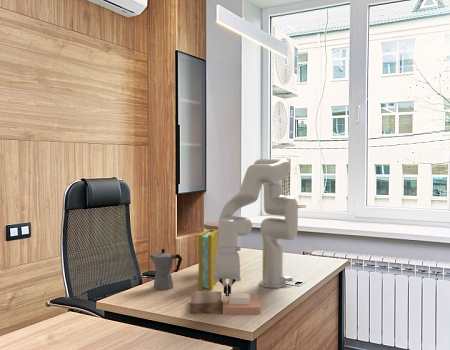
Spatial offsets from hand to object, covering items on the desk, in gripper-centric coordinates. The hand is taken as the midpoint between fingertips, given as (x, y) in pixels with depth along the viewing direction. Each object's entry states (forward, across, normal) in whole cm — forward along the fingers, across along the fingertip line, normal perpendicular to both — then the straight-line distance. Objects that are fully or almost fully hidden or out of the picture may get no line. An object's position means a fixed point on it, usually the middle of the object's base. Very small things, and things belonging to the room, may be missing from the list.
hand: (227, 295), depth 187 cm
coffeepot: (+5, +28, -28) cm, 40 cm away
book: (+5, +8, -33) cm, 35 cm away
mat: (+5, -6, 0) cm, 7 cm away
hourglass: (+5, +4, -61) cm, 61 cm away
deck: (+5, +8, 0) cm, 10 cm away
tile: (+2, -5, +1) cm, 6 cm away
